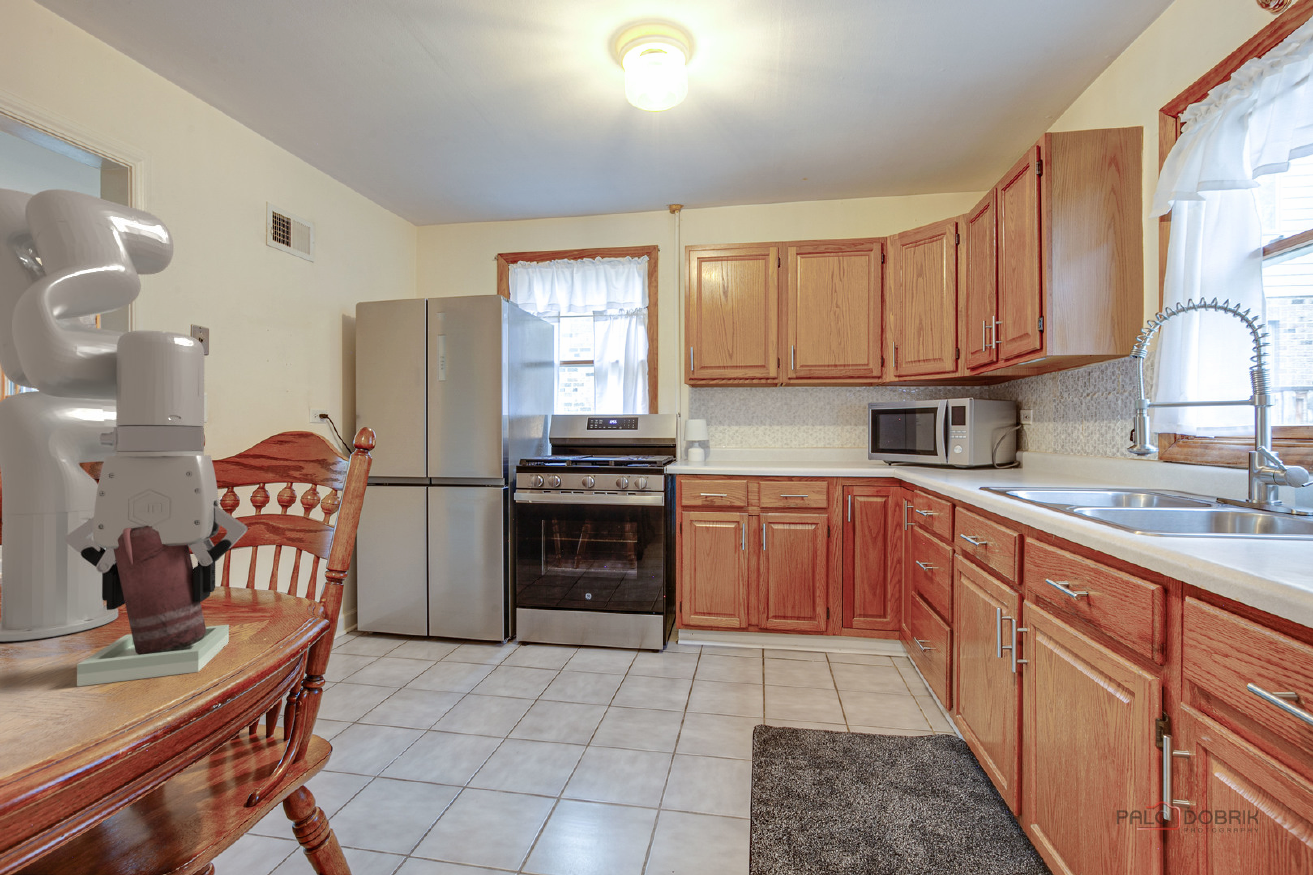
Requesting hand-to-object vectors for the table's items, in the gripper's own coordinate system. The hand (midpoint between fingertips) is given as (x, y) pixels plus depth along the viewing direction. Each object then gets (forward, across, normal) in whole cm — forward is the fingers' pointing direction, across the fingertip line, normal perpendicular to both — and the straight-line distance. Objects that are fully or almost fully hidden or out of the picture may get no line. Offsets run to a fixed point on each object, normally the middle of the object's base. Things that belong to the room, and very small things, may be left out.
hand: (160, 601), depth 65 cm
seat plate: (+7, 0, 0) cm, 7 cm away
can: (+5, +1, -1) cm, 5 cm away
